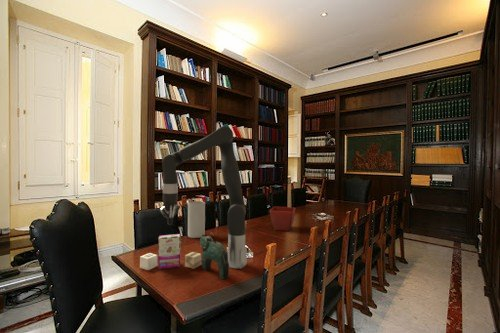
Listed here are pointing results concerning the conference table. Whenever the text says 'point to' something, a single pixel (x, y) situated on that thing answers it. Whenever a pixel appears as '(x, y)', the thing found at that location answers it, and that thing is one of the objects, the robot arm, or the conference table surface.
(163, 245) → the candy bar box
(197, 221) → the cylinder vase
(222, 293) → the conference table surface
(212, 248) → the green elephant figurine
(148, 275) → the conference table surface
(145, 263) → the white block two
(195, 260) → the maple block one
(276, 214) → the plant pot
